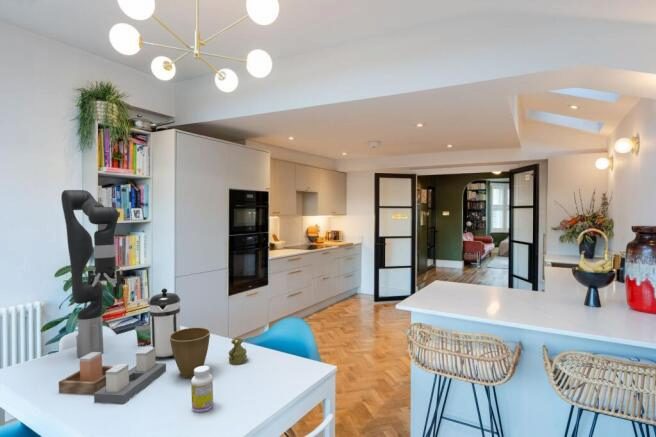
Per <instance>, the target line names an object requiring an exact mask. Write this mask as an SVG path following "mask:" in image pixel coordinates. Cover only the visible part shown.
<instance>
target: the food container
mask: <svg viewBox="0 0 656 437" xmlns="http://www.w3.org/2000/svg"><path fill="white" fill-rule="evenodd" d="M135 331H136V341H137V347H147V346H151V345H150V344H151V329H150V321H148V322H145V323H143V324H142V325H136V326H135V329H134V332H135ZM146 345H147V346H146Z"/></svg>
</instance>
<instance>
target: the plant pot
mask: <svg viewBox="0 0 656 437" xmlns="http://www.w3.org/2000/svg"><path fill="white" fill-rule="evenodd" d="M210 338H211V331H210V330H209V329H208V328H205V327H196V326H195V327H188V328H182V329H180V330H179V331H176V332H174V333H172V334H171V335H170V342H171V347H172V351H173V355H174V357H173V358H174V361H175V364H176V367H177V369H178V372H179V373H180V376H181V377H183V378H187V379H188V378H193V377H194V376H195V374H194V369H195V368H197V367H199V366H205V362H206V359H207V353H208V351H209V349H208V348H209V343H210Z"/></svg>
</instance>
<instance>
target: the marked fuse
mask: <svg viewBox="0 0 656 437" xmlns="http://www.w3.org/2000/svg"><path fill="white" fill-rule="evenodd" d="M102 355H103V354H102V352H91V353H89V354H87V355H85V356H83V357H81V358H80V357H78V358H79V359H78V360H79V370H80V381H84V382H95V381H96V380H98V379H99V378H101V377H103V376H102V366H103V356H102Z"/></svg>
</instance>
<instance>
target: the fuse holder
mask: <svg viewBox="0 0 656 437" xmlns="http://www.w3.org/2000/svg"><path fill="white" fill-rule="evenodd" d="M165 372H167V363H164V362H156V366H154V367H153V368H151V369H150V370H149V371H147V372H137V365H135V366H133V367H132V368H129V385H128V386H126V387H125V388H124V389H122V390H121V391H120V392H118V393H110V392H107V390H106V386H105V387H103V388H102V389H100V390H99V391H97V392H96V393H94V395H93V401H94V403H96V404H97V403H99V404H119V405H125V403H127V402H128V401H129V400H130V398H131V399H132V398H133V397H135V396H136V395H137V394H138V393H139V391H140V390H141V391H142V390H143V389H144V387H145V388H146V387H147V386H149V385H150V384H151V383H153V382H154V381H155V380H156V379H157V378H159V377H160V376H161V375H162V374H164V373H165ZM148 384H149V385H148ZM141 391H140V392H141ZM135 394H136V395H135ZM134 395H135V396H134Z"/></svg>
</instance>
